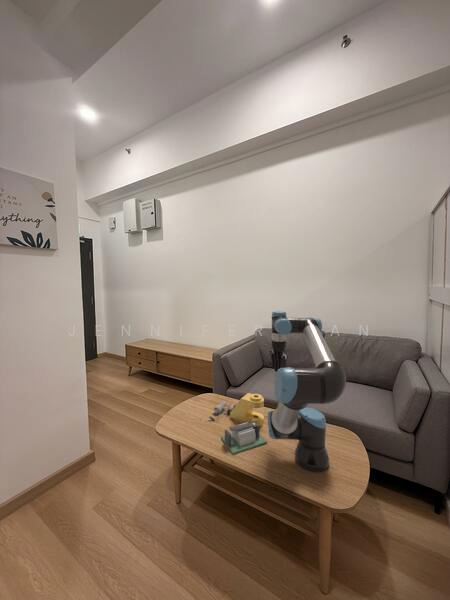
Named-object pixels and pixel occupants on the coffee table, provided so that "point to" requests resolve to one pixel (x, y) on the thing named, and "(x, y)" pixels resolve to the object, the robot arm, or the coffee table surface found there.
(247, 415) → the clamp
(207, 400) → the coffee table surface
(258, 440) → the heatsink base
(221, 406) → the clip-on lamp
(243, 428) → the strap
